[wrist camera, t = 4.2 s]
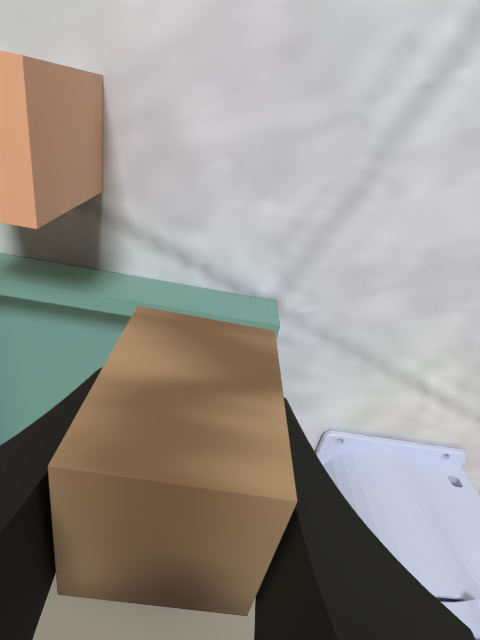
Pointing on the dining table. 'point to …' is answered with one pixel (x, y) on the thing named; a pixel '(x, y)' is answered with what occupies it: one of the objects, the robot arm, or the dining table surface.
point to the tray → (84, 327)
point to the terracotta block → (48, 139)
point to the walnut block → (175, 468)
